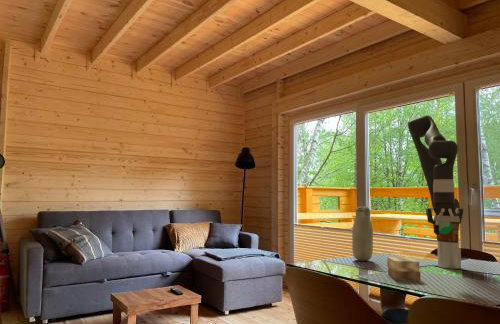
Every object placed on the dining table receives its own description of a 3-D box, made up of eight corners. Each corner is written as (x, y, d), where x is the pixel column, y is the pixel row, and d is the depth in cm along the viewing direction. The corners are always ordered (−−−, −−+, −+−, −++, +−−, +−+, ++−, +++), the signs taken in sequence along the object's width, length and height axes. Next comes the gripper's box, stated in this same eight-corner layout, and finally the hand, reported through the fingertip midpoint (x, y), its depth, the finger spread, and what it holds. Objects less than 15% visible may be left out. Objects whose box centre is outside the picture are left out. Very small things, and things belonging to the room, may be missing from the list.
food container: (427, 239, 161) (427, 214, 162) (441, 239, 162) (441, 214, 163) (444, 243, 149) (444, 216, 150) (460, 243, 150) (459, 216, 150)
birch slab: (411, 267, 171) (411, 257, 171) (419, 271, 161) (419, 261, 161) (387, 266, 172) (387, 257, 172) (393, 270, 162) (393, 260, 162)
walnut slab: (412, 276, 171) (411, 267, 171) (420, 281, 161) (420, 271, 161) (388, 275, 171) (388, 266, 171) (395, 281, 161) (395, 270, 162)
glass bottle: (349, 260, 206) (349, 206, 208) (358, 258, 213) (358, 205, 216) (367, 263, 199) (367, 206, 201) (376, 260, 207) (375, 206, 209)
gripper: (457, 191, 160) (459, 234, 159) (421, 191, 161) (422, 233, 160) (467, 191, 153) (468, 236, 152) (428, 191, 154) (429, 235, 152)
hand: (444, 234), depth 156 cm, fingers closed on food container, 5 cm apart
